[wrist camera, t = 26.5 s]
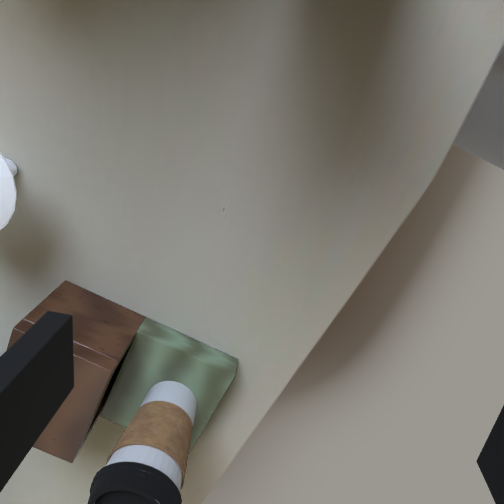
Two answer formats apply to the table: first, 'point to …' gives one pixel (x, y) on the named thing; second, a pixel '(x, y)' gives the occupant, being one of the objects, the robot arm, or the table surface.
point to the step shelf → (123, 367)
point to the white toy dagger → (7, 190)
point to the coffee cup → (150, 451)
